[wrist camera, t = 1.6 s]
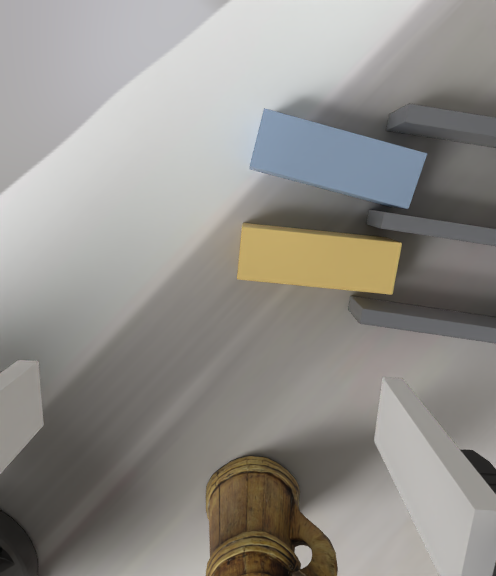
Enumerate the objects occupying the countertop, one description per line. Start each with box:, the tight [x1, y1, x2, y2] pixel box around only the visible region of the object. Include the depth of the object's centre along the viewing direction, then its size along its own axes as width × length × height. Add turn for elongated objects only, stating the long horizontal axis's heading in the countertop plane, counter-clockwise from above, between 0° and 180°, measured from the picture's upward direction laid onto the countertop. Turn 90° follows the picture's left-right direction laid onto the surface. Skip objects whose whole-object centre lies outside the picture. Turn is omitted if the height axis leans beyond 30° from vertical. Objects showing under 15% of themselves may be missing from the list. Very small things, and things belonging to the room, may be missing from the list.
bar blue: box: [250, 108, 427, 209], centre depth 31 cm, size 12×4×4 cm, turn 75°
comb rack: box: [348, 104, 496, 343], centre depth 31 cm, size 17×16×5 cm
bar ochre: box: [237, 223, 402, 295], centre depth 33 cm, size 12×4×4 cm, turn 84°
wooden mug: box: [206, 456, 338, 576], centre depth 31 cm, size 9×14×18 cm, turn 109°
